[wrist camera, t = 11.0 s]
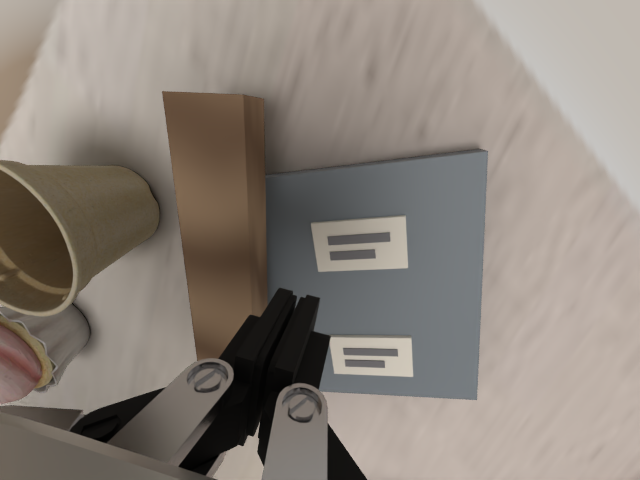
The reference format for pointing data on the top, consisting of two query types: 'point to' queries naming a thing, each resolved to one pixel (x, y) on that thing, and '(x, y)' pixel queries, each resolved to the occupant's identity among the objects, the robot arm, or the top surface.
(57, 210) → the flower pot
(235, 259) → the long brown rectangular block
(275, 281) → the label board
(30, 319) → the cupcake
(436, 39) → the top surface
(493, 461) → the top surface
